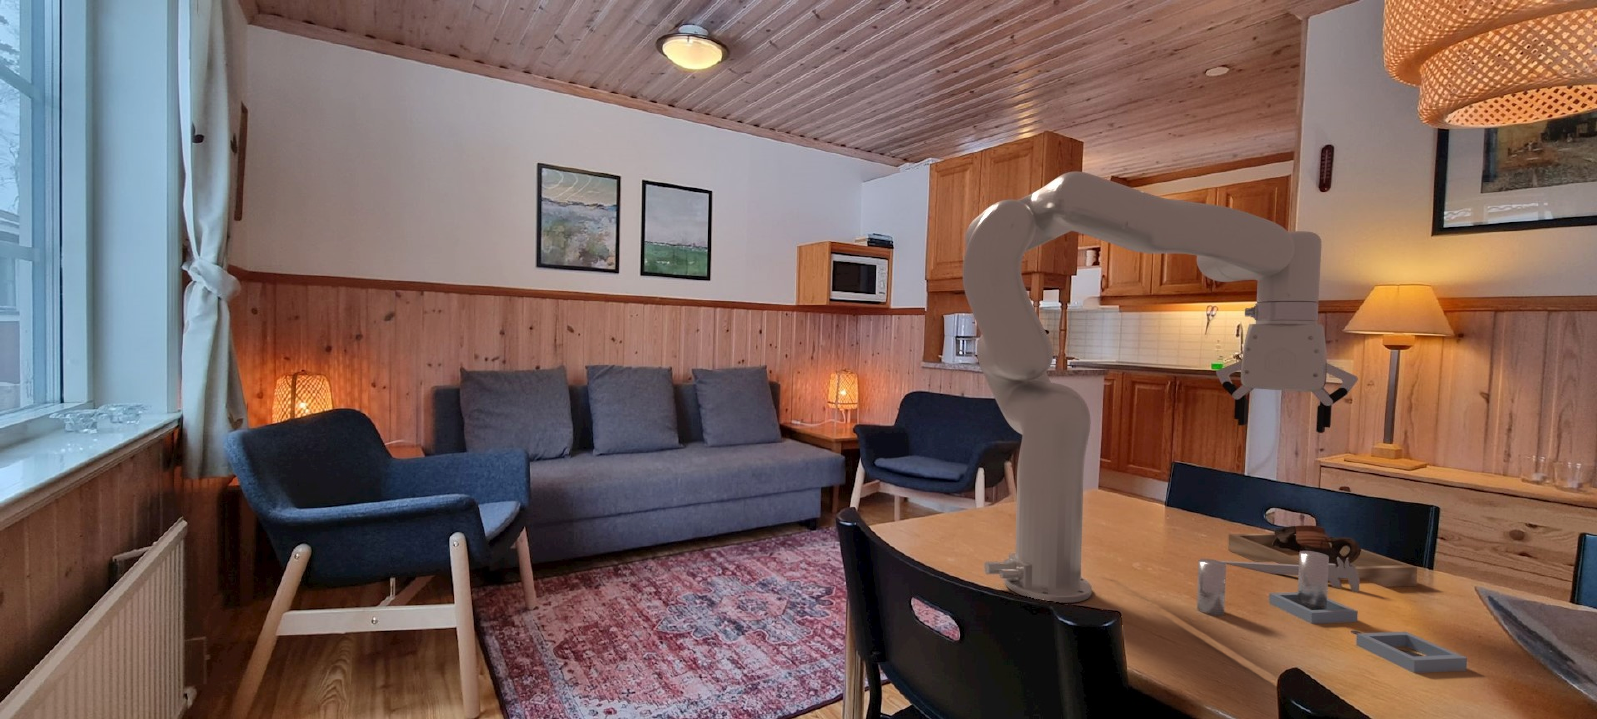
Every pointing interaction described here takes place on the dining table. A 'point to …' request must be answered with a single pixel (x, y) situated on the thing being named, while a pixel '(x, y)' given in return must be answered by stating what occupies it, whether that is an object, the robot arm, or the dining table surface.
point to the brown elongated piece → (1367, 562)
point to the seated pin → (1313, 580)
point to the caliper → (1290, 569)
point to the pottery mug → (1315, 542)
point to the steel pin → (1211, 587)
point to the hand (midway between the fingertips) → (1280, 428)
